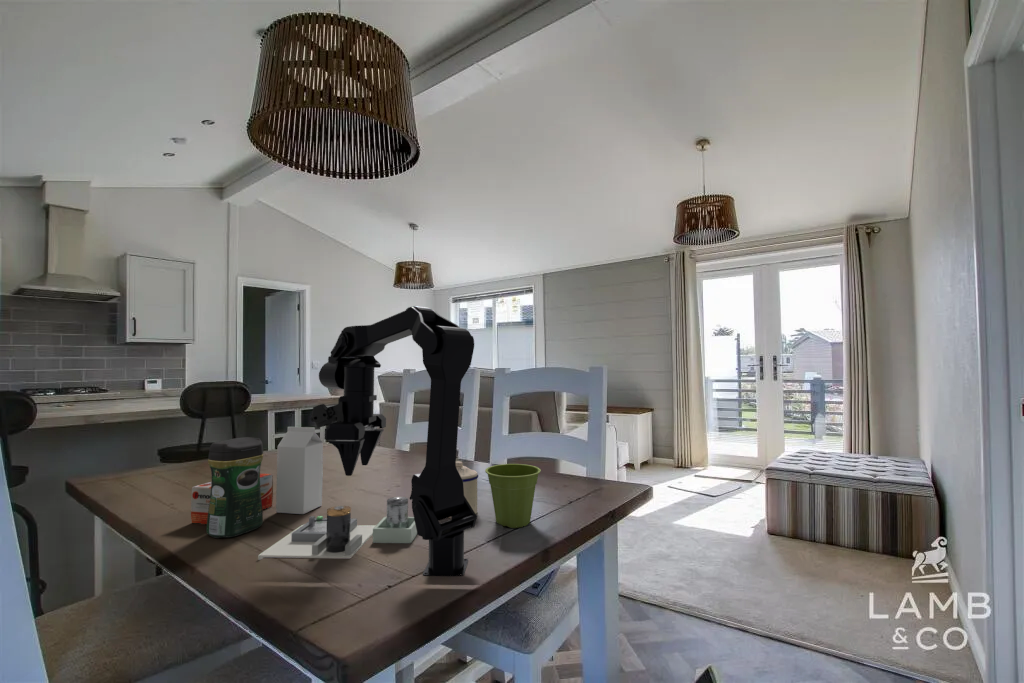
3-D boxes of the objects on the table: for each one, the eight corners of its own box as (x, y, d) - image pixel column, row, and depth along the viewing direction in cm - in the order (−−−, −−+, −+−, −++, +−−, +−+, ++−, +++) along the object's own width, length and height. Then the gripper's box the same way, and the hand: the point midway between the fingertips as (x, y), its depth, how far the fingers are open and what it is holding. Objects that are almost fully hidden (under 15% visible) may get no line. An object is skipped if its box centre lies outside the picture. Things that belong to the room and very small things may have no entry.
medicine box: (244, 504, 116) (245, 471, 117) (273, 507, 114) (274, 473, 115) (189, 524, 102) (190, 486, 102) (220, 527, 100) (221, 488, 100)
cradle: (335, 536, 90) (335, 522, 90) (301, 536, 90) (302, 522, 90) (348, 525, 96) (348, 512, 96) (316, 524, 97) (317, 511, 97)
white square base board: (350, 561, 82) (350, 545, 82) (258, 559, 82) (258, 543, 83) (379, 529, 98) (379, 516, 98) (302, 528, 98) (302, 515, 99)
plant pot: (473, 523, 102) (473, 469, 102) (513, 511, 110) (512, 461, 111) (513, 537, 93) (513, 478, 94) (552, 523, 102) (552, 469, 102)
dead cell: (404, 539, 91) (405, 501, 91) (383, 539, 91) (384, 500, 91) (410, 532, 95) (410, 495, 95) (389, 532, 95) (390, 495, 95)
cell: (344, 552, 83) (345, 510, 84) (322, 552, 84) (323, 510, 84) (353, 544, 87) (354, 504, 88) (331, 544, 88) (332, 503, 88)
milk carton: (303, 515, 107) (305, 429, 108) (275, 513, 109) (277, 428, 110) (322, 506, 114) (323, 425, 115) (295, 504, 116) (297, 425, 117)
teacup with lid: (484, 510, 111) (484, 459, 111) (469, 522, 102) (469, 467, 103) (436, 506, 114) (436, 456, 115) (418, 517, 106) (418, 463, 106)
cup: (411, 545, 89) (411, 529, 89) (372, 545, 89) (372, 528, 89) (420, 532, 96) (420, 517, 96) (384, 531, 96) (384, 516, 96)
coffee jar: (243, 521, 103) (245, 434, 104) (269, 526, 100) (271, 436, 101) (197, 536, 94) (200, 440, 95) (224, 542, 91) (227, 443, 92)
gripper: (336, 387, 105) (334, 460, 104) (296, 393, 86) (294, 481, 85) (387, 388, 105) (385, 460, 104) (358, 393, 86) (356, 482, 85)
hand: (357, 470), depth 95 cm, fingers open, 9 cm apart
